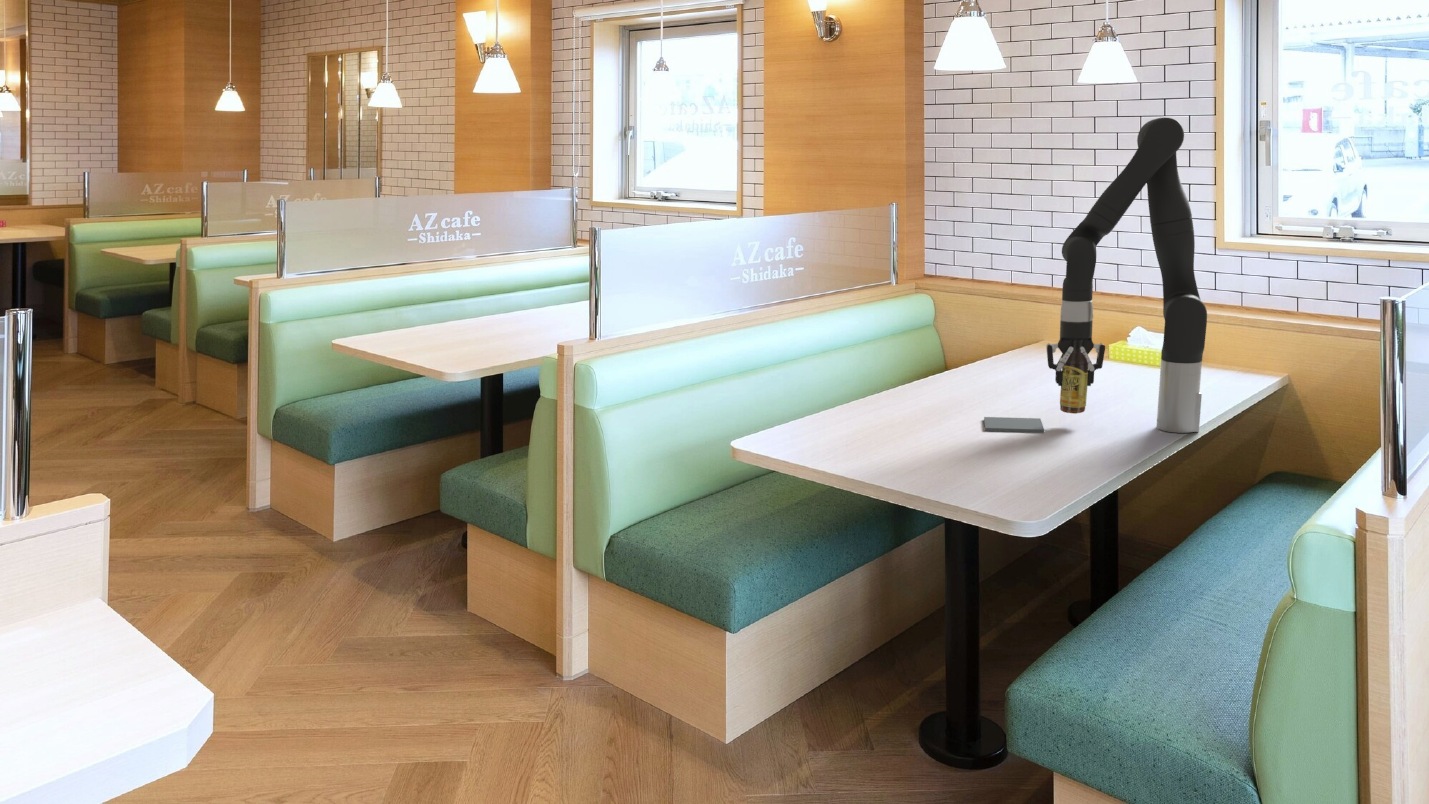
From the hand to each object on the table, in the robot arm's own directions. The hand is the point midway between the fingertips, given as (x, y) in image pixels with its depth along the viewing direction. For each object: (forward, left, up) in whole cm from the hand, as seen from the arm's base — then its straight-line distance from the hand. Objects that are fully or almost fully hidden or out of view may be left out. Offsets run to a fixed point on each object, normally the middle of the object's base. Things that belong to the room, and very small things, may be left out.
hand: (1074, 385), depth 272 cm
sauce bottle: (0, 0, -7) cm, 7 cm away
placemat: (+14, +1, -11) cm, 18 cm away
